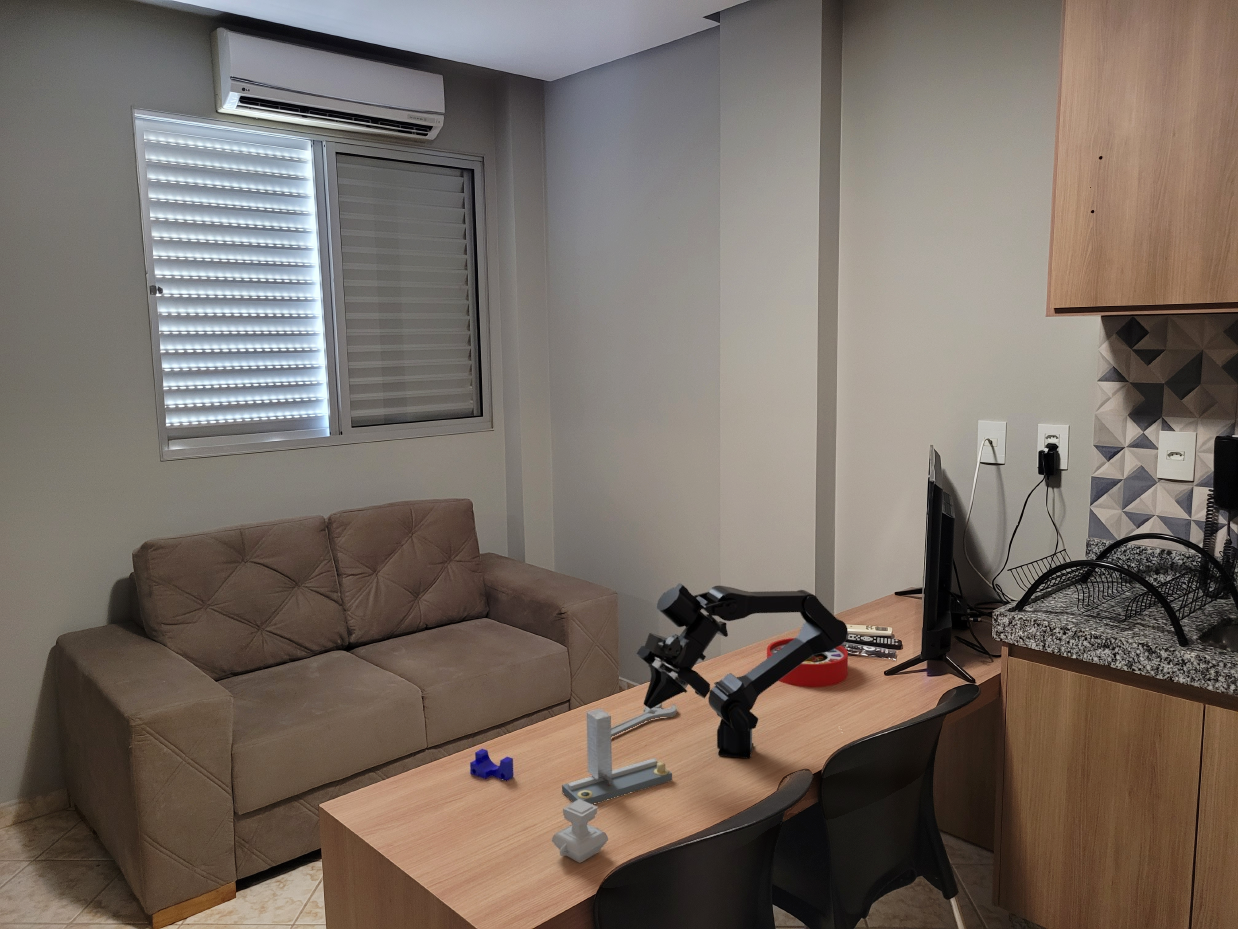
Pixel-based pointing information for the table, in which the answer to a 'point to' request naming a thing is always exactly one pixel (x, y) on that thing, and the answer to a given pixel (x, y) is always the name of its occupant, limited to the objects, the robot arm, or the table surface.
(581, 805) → the stamp
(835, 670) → the toy clock
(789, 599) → the robot arm
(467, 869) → the table surface
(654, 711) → the adjustable wrench
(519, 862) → the table surface
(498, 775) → the cable holder
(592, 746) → the sliding jaw
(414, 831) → the table surface
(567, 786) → the plate
